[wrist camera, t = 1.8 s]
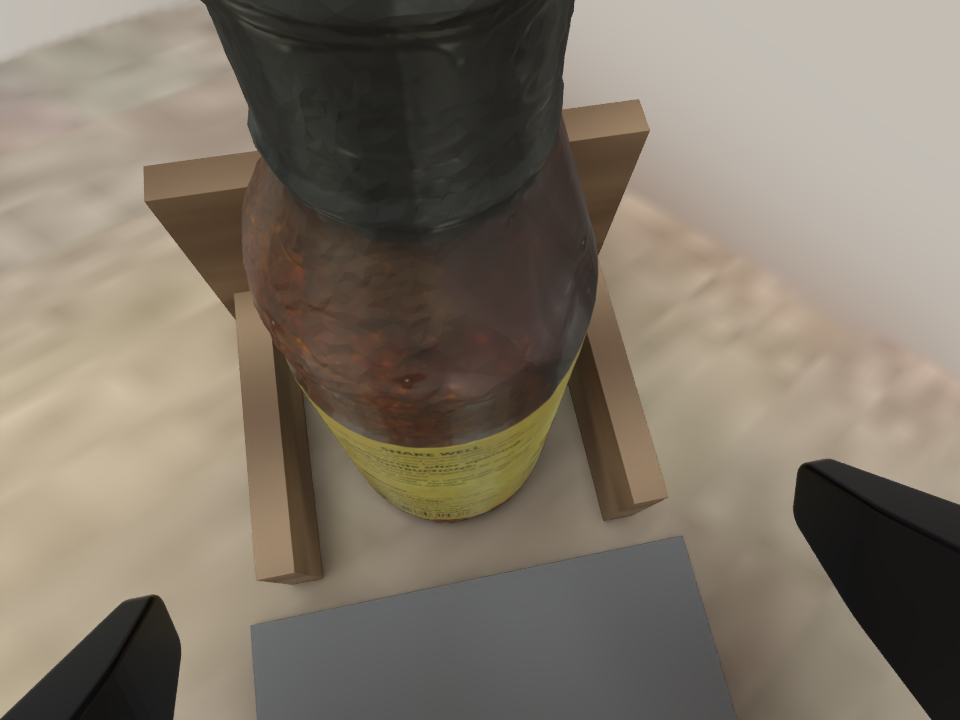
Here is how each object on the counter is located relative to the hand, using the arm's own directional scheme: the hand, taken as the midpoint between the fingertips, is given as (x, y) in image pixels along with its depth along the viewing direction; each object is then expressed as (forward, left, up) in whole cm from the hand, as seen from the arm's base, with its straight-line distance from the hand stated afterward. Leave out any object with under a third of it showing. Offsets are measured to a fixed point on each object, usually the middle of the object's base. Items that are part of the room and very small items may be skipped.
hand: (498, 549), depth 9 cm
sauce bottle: (+4, -3, -13) cm, 14 cm away
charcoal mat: (-4, +3, -13) cm, 14 cm away
